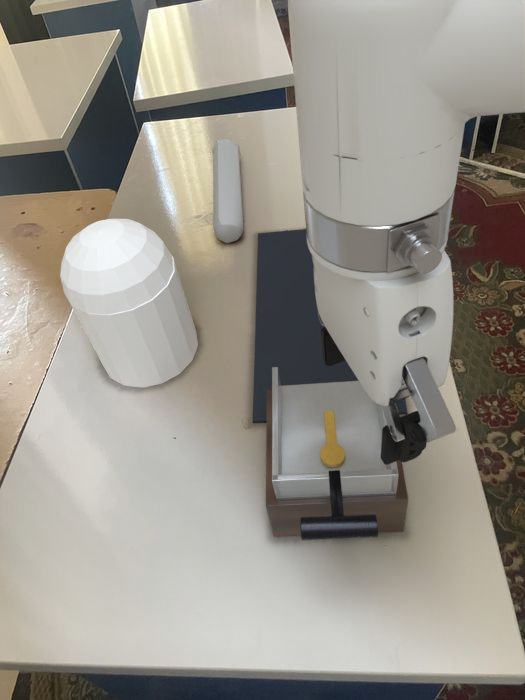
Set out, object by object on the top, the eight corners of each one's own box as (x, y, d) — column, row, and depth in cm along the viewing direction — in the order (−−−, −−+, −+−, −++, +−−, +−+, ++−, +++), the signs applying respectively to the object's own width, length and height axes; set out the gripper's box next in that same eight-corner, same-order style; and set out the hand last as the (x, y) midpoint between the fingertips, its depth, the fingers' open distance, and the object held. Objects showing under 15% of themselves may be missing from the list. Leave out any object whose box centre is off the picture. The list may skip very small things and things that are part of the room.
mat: (407, 414, 65) (407, 412, 65) (253, 423, 67) (252, 421, 67) (371, 224, 89) (371, 222, 89) (258, 235, 91) (258, 233, 91)
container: (92, 391, 74) (25, 275, 59) (111, 317, 82) (58, 200, 68) (193, 384, 72) (151, 264, 57) (202, 310, 81) (168, 189, 66)
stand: (403, 532, 57) (408, 499, 51) (273, 537, 58) (265, 506, 53) (385, 419, 65) (388, 382, 60) (273, 425, 67) (266, 389, 61)
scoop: (406, 559, 48) (411, 530, 43) (276, 564, 49) (268, 536, 45) (378, 382, 60) (380, 346, 56) (276, 389, 61) (269, 353, 57)
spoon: (346, 467, 54) (346, 464, 53) (320, 468, 54) (320, 465, 53) (341, 412, 58) (341, 410, 57) (317, 414, 58) (317, 411, 57)
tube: (248, 224, 87) (243, 140, 103) (213, 219, 86) (213, 135, 102) (242, 251, 91) (238, 166, 107) (209, 247, 90) (210, 162, 106)
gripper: (547, 290, 25) (482, 480, 37) (366, 123, 36) (363, 313, 49) (391, 347, 24) (379, 522, 36) (255, 157, 35) (282, 342, 48)
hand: (370, 402), depth 43 cm, fingers open, 9 cm apart
